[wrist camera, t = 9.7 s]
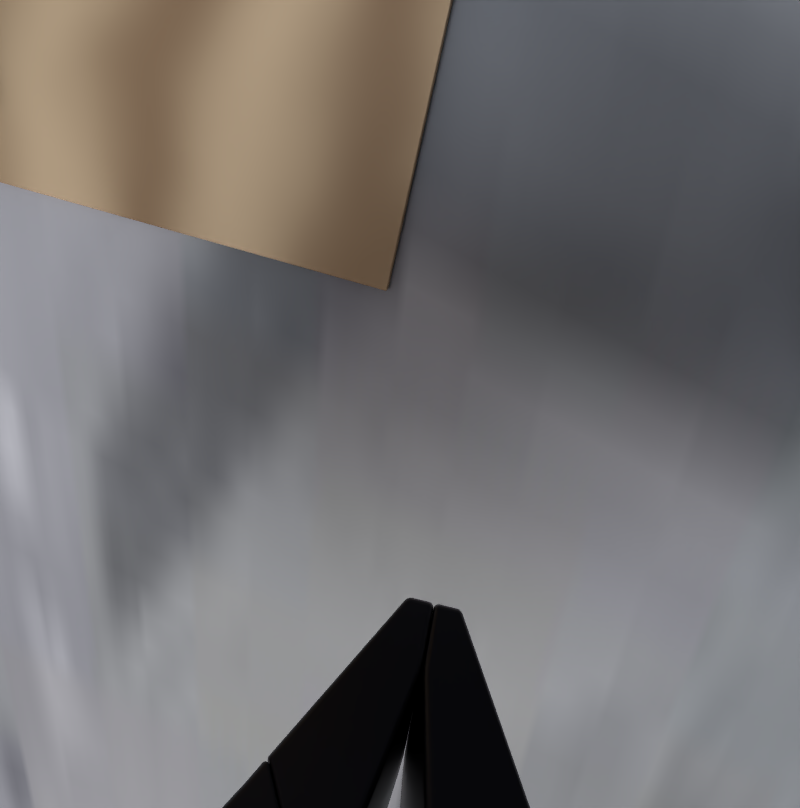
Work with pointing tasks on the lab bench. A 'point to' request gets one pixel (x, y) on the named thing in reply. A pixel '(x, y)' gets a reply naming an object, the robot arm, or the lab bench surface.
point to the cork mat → (227, 118)
